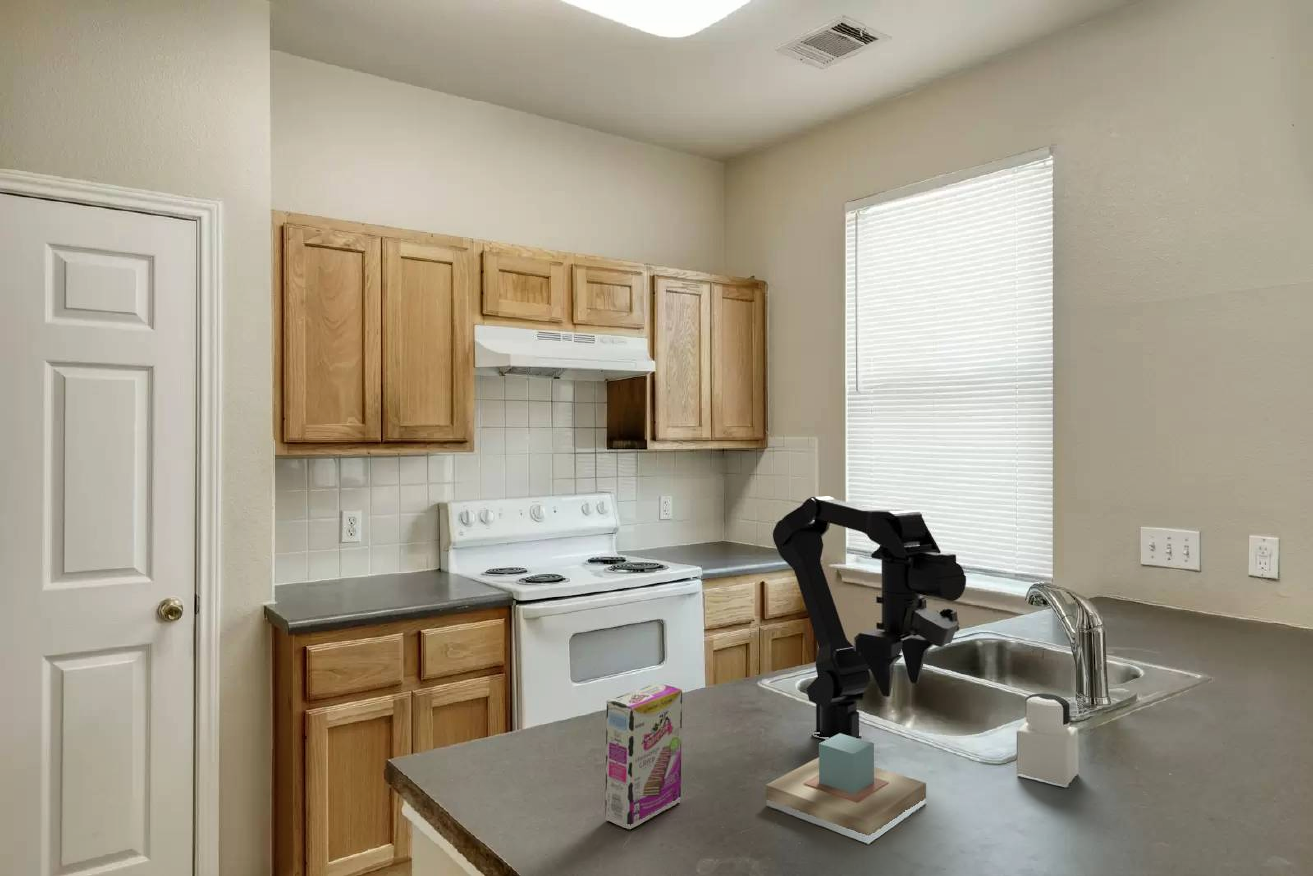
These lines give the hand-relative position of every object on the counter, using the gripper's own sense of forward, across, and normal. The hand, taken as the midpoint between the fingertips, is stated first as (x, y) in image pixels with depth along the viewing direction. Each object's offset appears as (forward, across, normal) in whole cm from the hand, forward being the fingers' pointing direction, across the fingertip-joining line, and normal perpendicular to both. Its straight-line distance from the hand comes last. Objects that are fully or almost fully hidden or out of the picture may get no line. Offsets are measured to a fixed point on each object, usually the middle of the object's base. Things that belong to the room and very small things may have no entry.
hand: (900, 689), depth 129 cm
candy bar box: (+12, -39, +18) cm, 45 cm away
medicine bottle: (+12, +12, -18) cm, 25 cm away
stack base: (+12, -18, -1) cm, 22 cm away
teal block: (+9, -18, -1) cm, 20 cm away
